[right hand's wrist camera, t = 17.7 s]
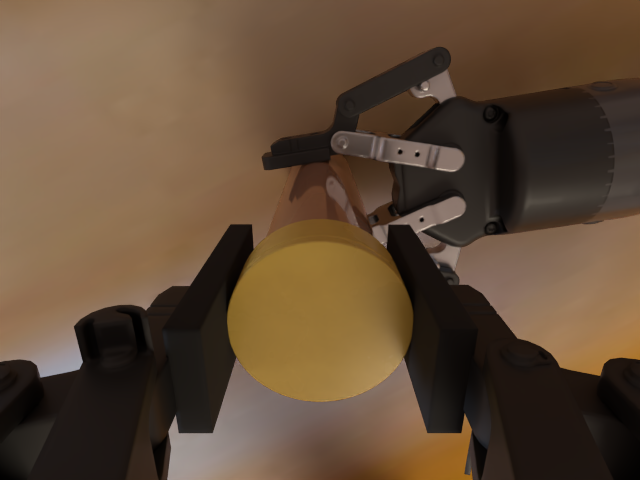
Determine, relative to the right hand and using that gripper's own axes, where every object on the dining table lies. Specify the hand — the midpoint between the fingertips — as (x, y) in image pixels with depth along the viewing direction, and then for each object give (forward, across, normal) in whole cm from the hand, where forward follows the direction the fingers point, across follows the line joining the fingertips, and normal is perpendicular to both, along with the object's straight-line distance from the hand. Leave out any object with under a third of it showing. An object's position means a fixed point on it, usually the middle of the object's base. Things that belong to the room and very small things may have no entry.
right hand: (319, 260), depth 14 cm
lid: (-4, 0, 0) cm, 4 cm away
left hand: (+9, -3, 0) cm, 10 cm away
